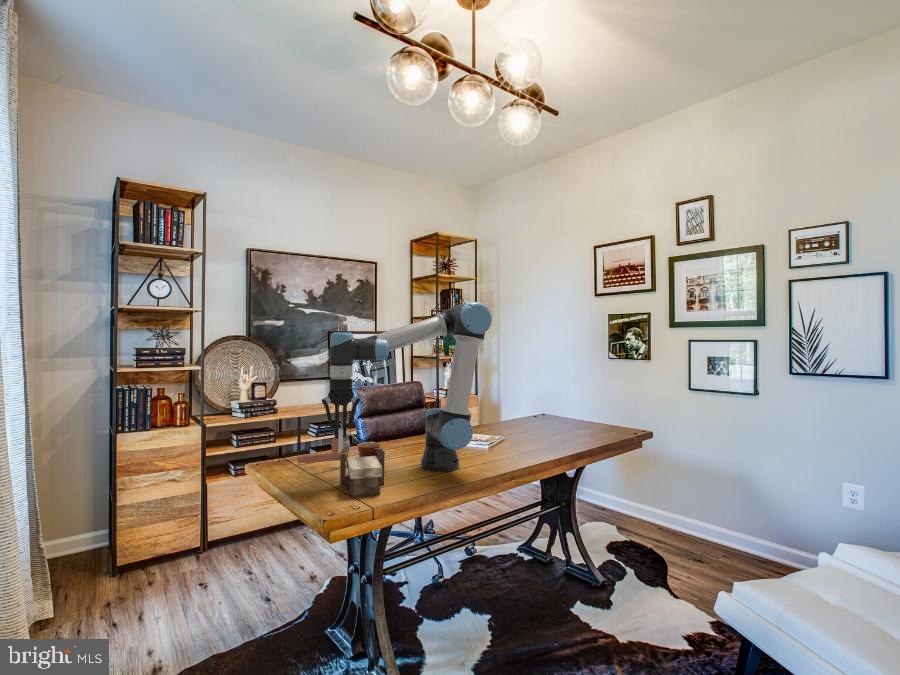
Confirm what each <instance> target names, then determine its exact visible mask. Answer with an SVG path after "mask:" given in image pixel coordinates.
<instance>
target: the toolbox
mask: <svg viewBox="0 0 900 675" xmlns="http://www.w3.org/2000/svg"><path fill="white" fill-rule="evenodd" d="M339 453H345V451H342V450H340V451H339ZM385 455H386V454H385V451H384V449H383V448H380V449H378V461H379V463H380V464H381V466H382V477H372V478H359V479H350V476H349V473H348V472H347V467H346V454H341V460H339V461H340V462H339V488H340V490H346V489H348V490H349V492H350V497H351V498H362V497H371V496H373V497H374V496H381V487H385V457H386V456H385ZM346 472H347V475H346Z"/></svg>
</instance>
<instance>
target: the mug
mask: <svg viewBox="0 0 900 675" xmlns="http://www.w3.org/2000/svg"><path fill="white" fill-rule="evenodd" d="M356 445H357V446H356V448H357V450H358V457H368V456H376V457H377V459H378V449H381V443H380V442H375V441H365V442H360V443H357V444H356Z"/></svg>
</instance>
